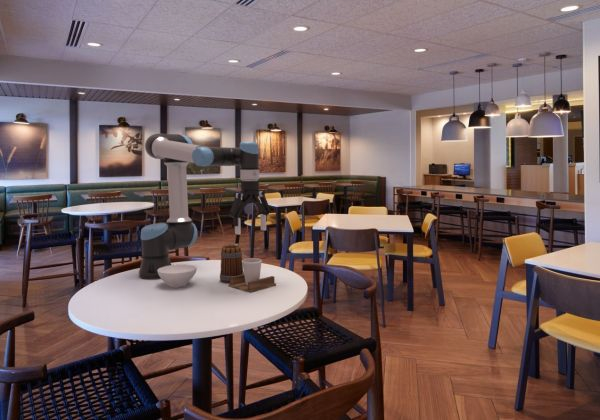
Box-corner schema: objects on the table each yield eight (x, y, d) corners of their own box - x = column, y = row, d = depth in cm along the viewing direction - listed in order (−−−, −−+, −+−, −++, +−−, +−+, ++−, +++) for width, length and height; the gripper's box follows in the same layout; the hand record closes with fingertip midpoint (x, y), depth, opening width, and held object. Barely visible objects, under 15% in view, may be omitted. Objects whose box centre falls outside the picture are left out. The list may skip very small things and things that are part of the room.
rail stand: (228, 286, 183) (228, 277, 183) (254, 279, 193) (254, 271, 193) (250, 292, 173) (250, 283, 173) (276, 285, 183) (276, 276, 183)
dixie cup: (239, 282, 185) (239, 259, 184) (258, 280, 189) (258, 257, 188) (245, 287, 178) (245, 263, 177) (265, 285, 181) (264, 261, 180)
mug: (239, 284, 186) (238, 249, 185) (216, 283, 188) (215, 248, 187) (250, 274, 202) (250, 242, 200) (229, 274, 204) (228, 242, 202)
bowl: (161, 292, 175) (161, 275, 175) (155, 283, 190) (154, 267, 189) (201, 286, 183) (201, 270, 182) (192, 278, 197) (191, 262, 196)
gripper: (230, 181, 167) (232, 236, 169) (278, 179, 185) (279, 229, 187) (219, 181, 172) (220, 234, 175) (266, 179, 190) (267, 227, 192)
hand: (251, 232), depth 181 cm, fingers open, 13 cm apart
